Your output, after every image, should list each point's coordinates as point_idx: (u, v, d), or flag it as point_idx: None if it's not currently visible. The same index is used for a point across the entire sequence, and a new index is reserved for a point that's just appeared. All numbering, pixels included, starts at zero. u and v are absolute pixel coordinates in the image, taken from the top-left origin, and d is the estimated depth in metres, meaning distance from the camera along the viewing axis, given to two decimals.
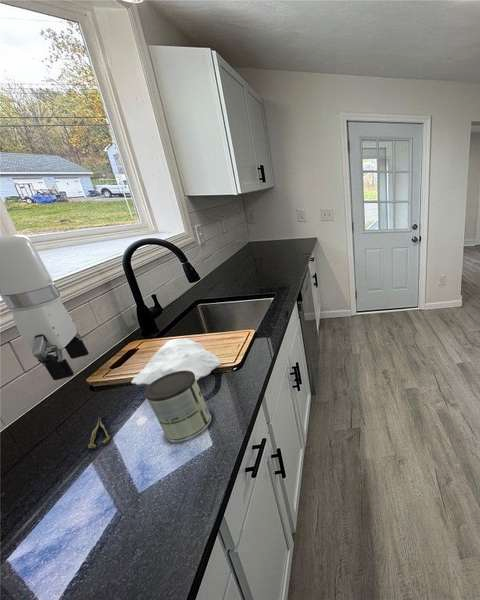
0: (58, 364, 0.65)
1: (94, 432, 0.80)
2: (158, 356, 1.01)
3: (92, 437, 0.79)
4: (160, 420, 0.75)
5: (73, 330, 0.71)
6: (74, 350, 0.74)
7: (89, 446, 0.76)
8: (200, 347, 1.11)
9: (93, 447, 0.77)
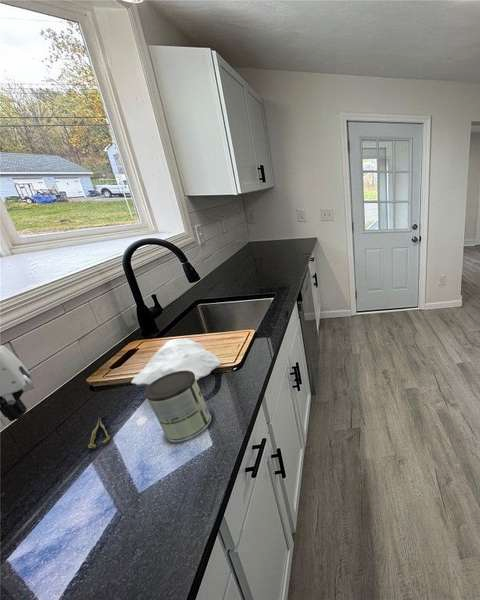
0: (20, 399, 0.72)
1: (94, 432, 0.80)
2: (158, 356, 1.01)
3: (92, 437, 0.79)
4: (160, 420, 0.75)
5: None
6: None
7: (89, 446, 0.76)
8: (200, 347, 1.11)
9: (93, 447, 0.77)
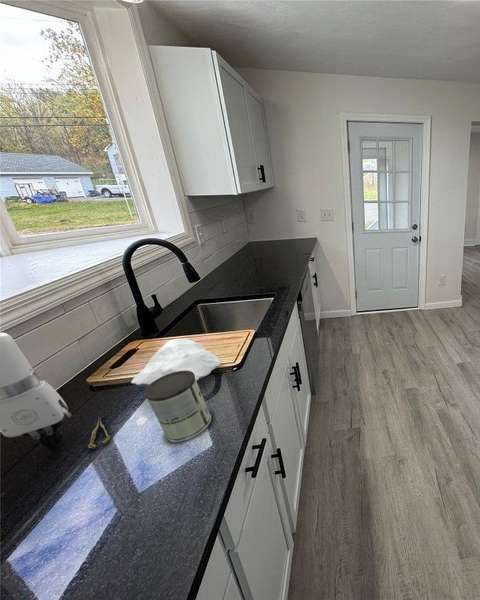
0: (57, 430, 0.77)
1: (94, 432, 0.80)
2: (158, 356, 1.01)
3: (92, 437, 0.79)
4: (160, 420, 0.75)
5: None
6: None
7: (89, 446, 0.76)
8: (200, 347, 1.11)
9: (93, 447, 0.77)
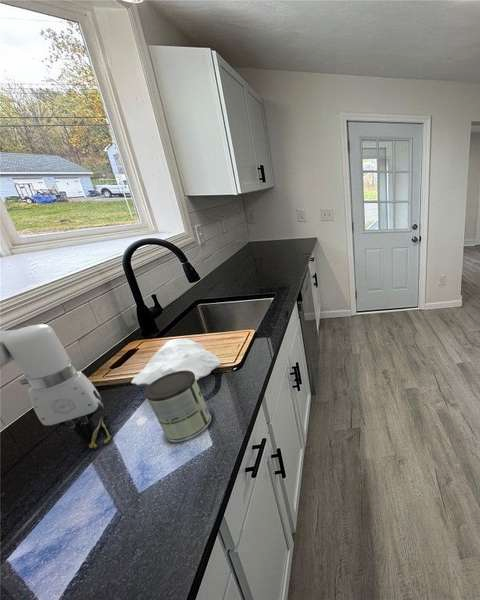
0: (90, 419, 0.80)
1: (95, 432, 0.80)
2: (158, 356, 1.01)
3: (93, 437, 0.79)
4: (160, 420, 0.75)
5: None
6: None
7: (90, 446, 0.76)
8: (200, 347, 1.11)
9: (94, 447, 0.77)
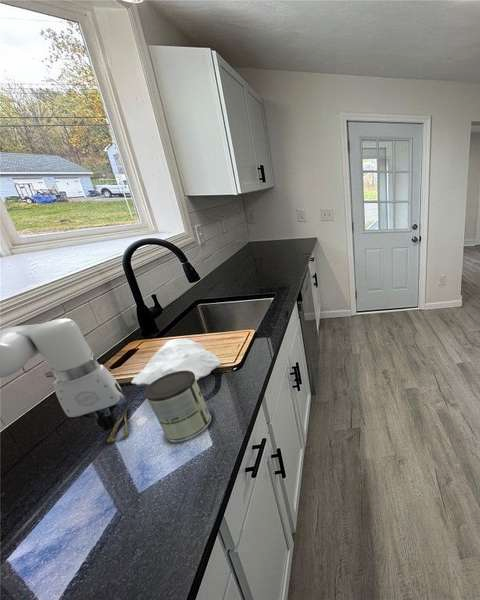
0: (112, 412, 0.82)
1: (116, 425, 0.82)
2: (158, 356, 1.01)
3: (113, 430, 0.81)
4: (160, 420, 0.75)
5: None
6: None
7: (108, 440, 0.78)
8: (200, 347, 1.11)
9: (112, 441, 0.78)
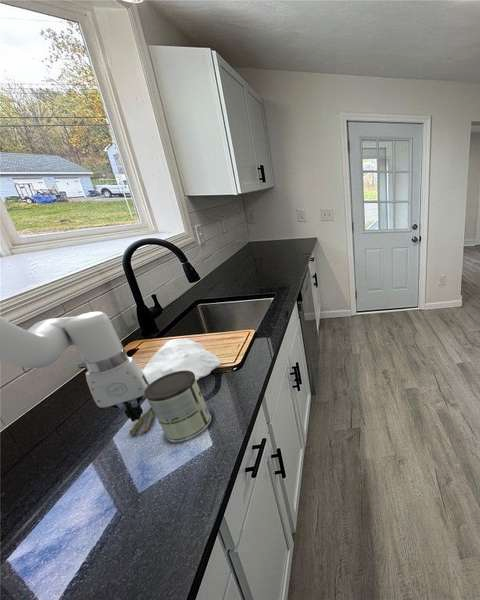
0: (138, 403, 0.84)
1: (142, 417, 0.84)
2: (158, 356, 1.01)
3: (137, 422, 0.83)
4: (160, 420, 0.75)
5: None
6: None
7: (130, 432, 0.80)
8: (200, 347, 1.11)
9: (133, 434, 0.80)
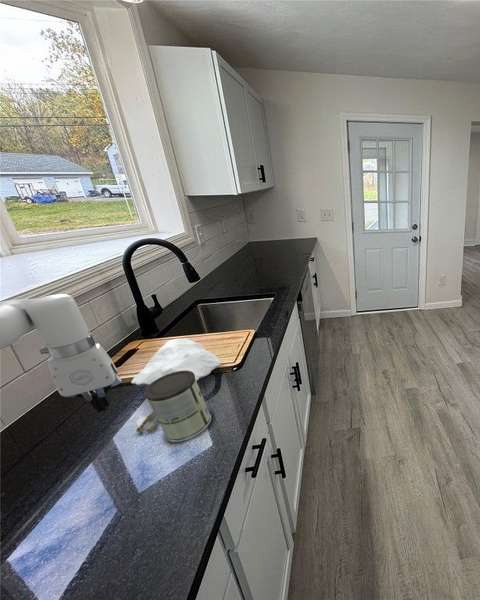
0: (106, 393, 0.80)
1: (151, 414, 0.85)
2: (158, 356, 1.01)
3: (146, 420, 0.83)
4: (160, 420, 0.75)
5: None
6: None
7: (137, 429, 0.80)
8: (200, 347, 1.11)
9: (139, 431, 0.80)
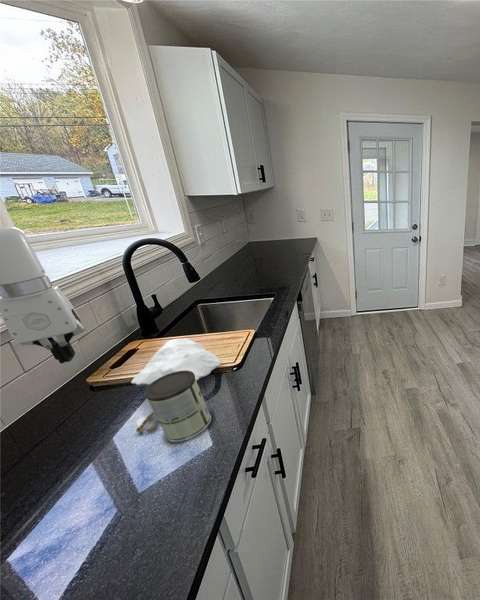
0: (69, 343, 0.73)
1: (151, 414, 0.85)
2: (158, 356, 1.01)
3: (146, 420, 0.83)
4: (160, 420, 0.75)
5: None
6: None
7: (137, 429, 0.80)
8: (200, 347, 1.11)
9: (139, 431, 0.80)
